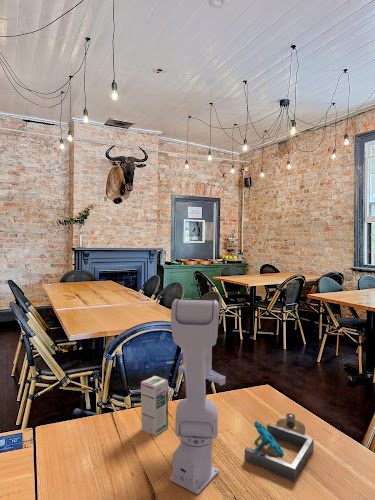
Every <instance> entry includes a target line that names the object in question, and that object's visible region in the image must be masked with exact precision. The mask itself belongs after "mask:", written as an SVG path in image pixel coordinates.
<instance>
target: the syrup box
mask: <svg viewBox="0 0 375 500" xmlns="http://www.w3.org/2000/svg"><path fill="white" fill-rule="evenodd" d="M168 381H169V380H168V379H166V378H163V377H160V376H157V375H152V377H150V378H148V379H145V380H142V381H140V410H141V412H140V413H141V415H140V416H141V424H140V425H141V427H140V428H141V430H142V431H144V432H146V433H147V434H150V435H152V436H154V437H156V436H157V435H158V434H160V433H162V432H163V431H165V430H167V429H168V428H169V386H168V385H169V382H168Z"/></svg>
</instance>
